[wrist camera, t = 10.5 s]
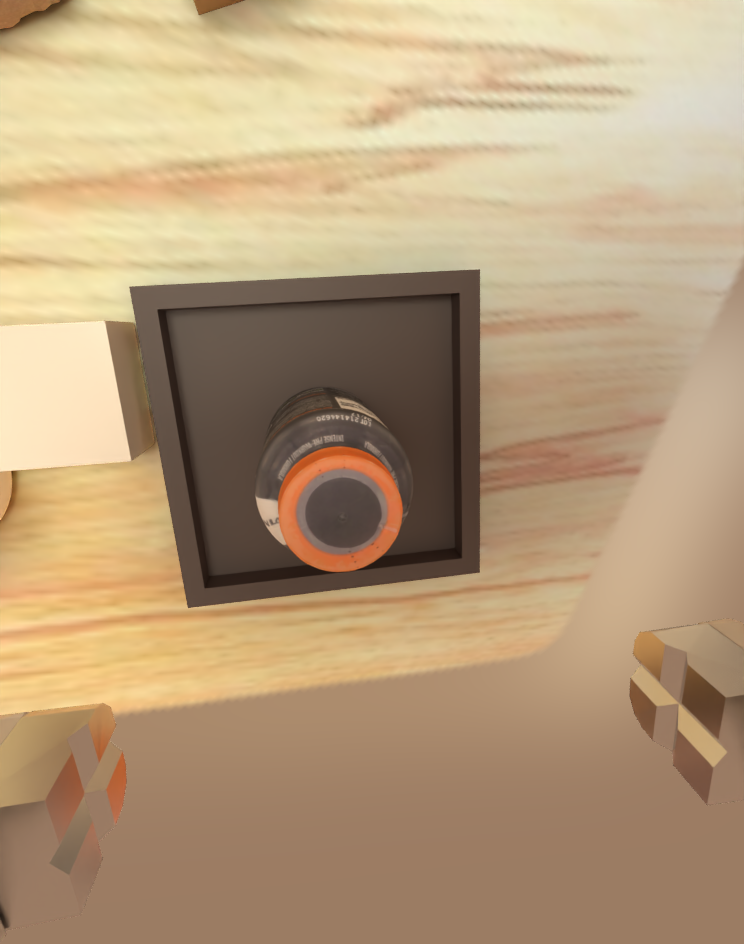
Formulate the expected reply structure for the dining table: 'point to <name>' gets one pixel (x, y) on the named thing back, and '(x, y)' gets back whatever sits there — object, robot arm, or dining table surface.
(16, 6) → the brick
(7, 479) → the mug
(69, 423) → the ceramic block
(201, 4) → the walnut cube
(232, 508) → the tray
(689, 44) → the dining table surface
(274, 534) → the pill bottle
